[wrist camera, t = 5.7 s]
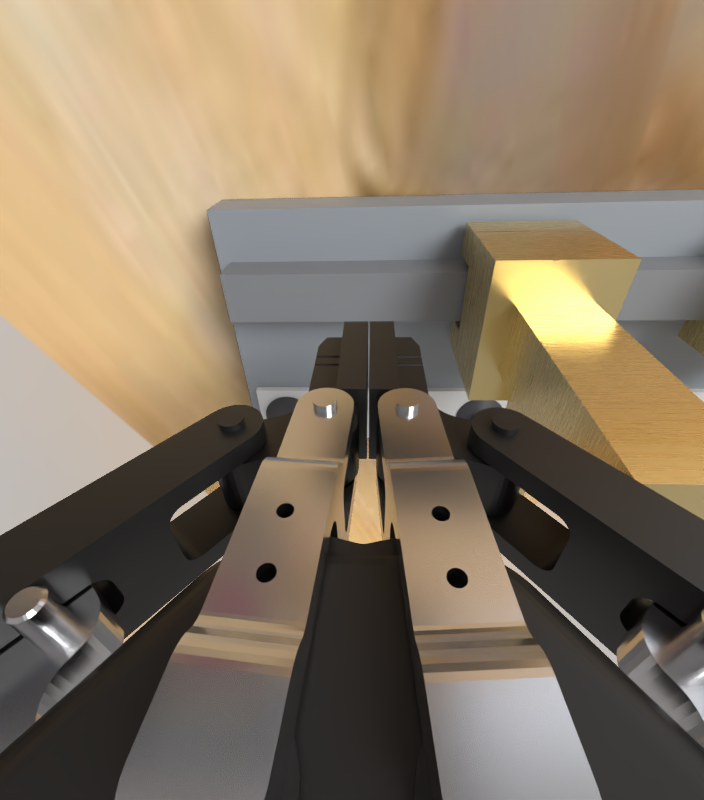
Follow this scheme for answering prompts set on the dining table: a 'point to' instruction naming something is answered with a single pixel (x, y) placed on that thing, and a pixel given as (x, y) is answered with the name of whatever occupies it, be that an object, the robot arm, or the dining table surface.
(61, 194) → the dining table surface
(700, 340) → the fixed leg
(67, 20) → the dining table surface
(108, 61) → the dining table surface
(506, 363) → the slider
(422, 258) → the board
